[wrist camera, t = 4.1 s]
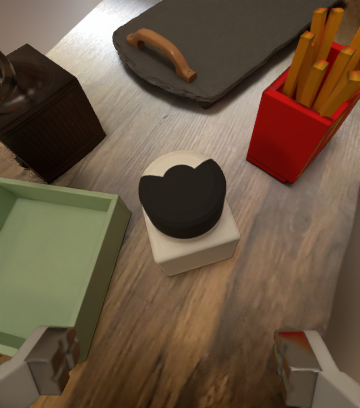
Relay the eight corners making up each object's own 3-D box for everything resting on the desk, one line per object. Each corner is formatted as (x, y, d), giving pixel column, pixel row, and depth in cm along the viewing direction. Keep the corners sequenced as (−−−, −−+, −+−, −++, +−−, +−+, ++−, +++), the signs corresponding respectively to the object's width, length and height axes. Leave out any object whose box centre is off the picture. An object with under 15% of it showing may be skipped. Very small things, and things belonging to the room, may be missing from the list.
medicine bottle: (233, 257, 26) (253, 212, 15) (167, 277, 25) (138, 246, 15) (211, 199, 29) (214, 126, 18) (152, 216, 29) (119, 153, 18)
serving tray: (252, -39, 50) (257, -84, 45) (360, -2, 42) (383, -52, 36) (100, 59, 42) (84, 19, 36) (198, 131, 33) (197, 93, 28)
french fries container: (336, 141, 30) (428, 14, 18) (293, 191, 28) (365, 87, 16) (286, 114, 33) (336, -14, 20) (243, 158, 31) (269, 45, 18)
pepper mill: (4, 148, 35) (-167, 1, 19) (66, 102, 38) (-38, -60, 22) (67, 213, 30) (-98, 86, 14) (133, 153, 33) (61, -10, 16)
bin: (85, 361, 23) (59, 370, 19) (-49, 324, 26) (-98, 325, 21) (131, 212, 29) (118, 194, 25) (19, 194, 32) (-9, 175, 27)
